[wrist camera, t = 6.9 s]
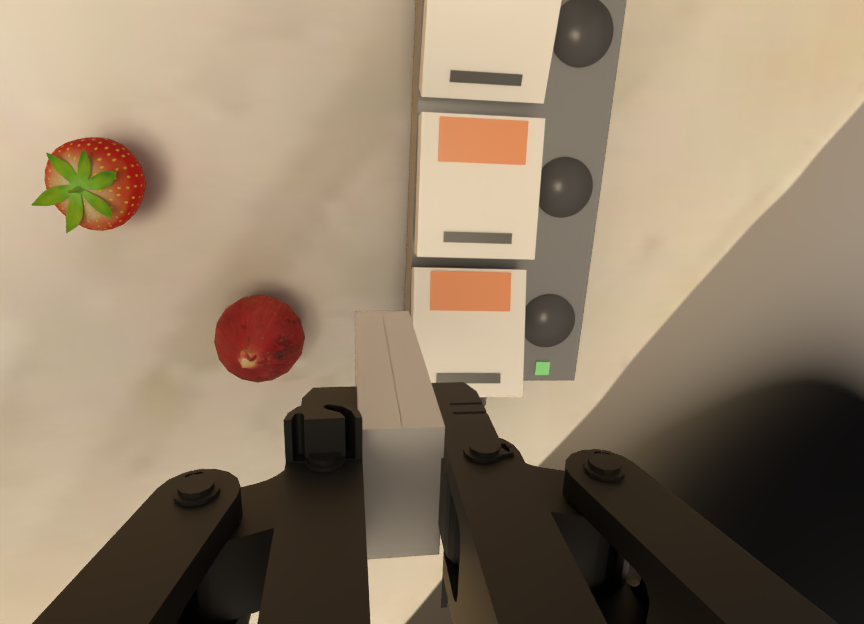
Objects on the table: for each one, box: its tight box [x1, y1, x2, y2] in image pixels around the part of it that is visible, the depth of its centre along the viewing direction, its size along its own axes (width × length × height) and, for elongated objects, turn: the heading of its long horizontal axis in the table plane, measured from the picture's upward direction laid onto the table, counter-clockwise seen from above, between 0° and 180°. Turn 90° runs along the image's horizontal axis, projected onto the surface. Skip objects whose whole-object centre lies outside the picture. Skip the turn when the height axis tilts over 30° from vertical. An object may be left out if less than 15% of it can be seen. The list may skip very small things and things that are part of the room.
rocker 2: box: [414, 112, 545, 260], centre depth 34 cm, size 7×8×2 cm
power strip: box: [404, 0, 626, 406], centre depth 39 cm, size 12×31×6 cm, turn 177°
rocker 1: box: [419, 0, 562, 104], centre depth 31 cm, size 7×8×2 cm
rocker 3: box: [411, 267, 527, 397], centre depth 37 cm, size 7×8×2 cm
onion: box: [214, 295, 305, 382], centre depth 39 cm, size 6×6×8 cm
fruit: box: [32, 138, 145, 233], centre depth 35 cm, size 5×5×8 cm
